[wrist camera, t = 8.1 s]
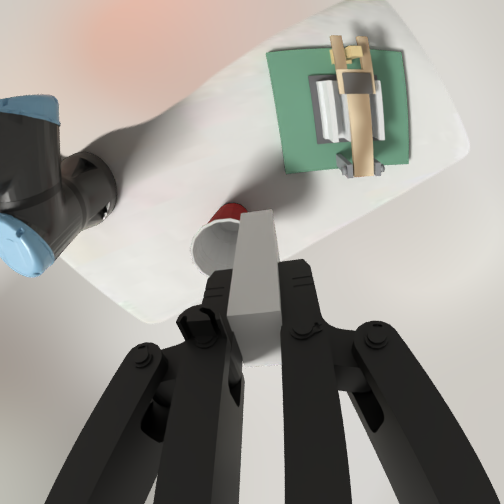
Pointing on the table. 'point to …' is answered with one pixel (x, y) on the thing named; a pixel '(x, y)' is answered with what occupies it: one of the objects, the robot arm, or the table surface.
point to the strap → (357, 102)
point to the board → (302, 110)
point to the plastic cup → (217, 240)
